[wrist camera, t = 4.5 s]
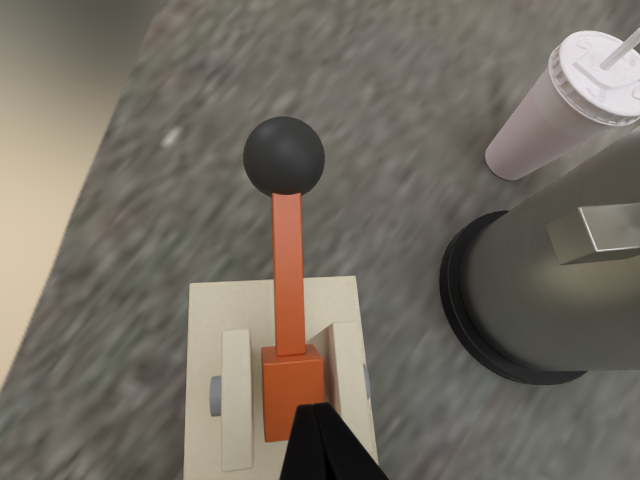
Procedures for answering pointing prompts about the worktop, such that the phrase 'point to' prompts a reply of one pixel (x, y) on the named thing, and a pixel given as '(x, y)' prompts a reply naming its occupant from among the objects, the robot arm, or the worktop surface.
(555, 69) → the smoothie
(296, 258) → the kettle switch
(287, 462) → the robot arm
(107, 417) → the worktop surface
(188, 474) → the knobbed lever stand
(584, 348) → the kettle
